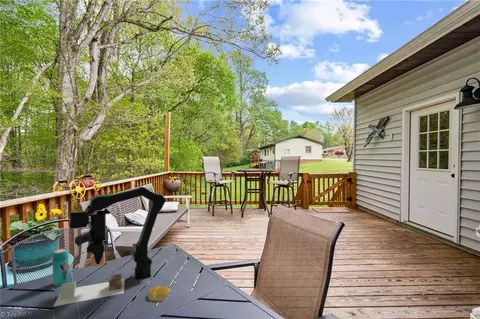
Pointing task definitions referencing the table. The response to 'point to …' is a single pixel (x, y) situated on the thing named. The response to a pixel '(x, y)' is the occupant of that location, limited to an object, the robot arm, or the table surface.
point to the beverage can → (60, 267)
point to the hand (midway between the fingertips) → (98, 261)
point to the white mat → (91, 293)
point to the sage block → (68, 290)
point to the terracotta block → (100, 261)
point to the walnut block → (115, 282)
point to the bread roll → (159, 293)
